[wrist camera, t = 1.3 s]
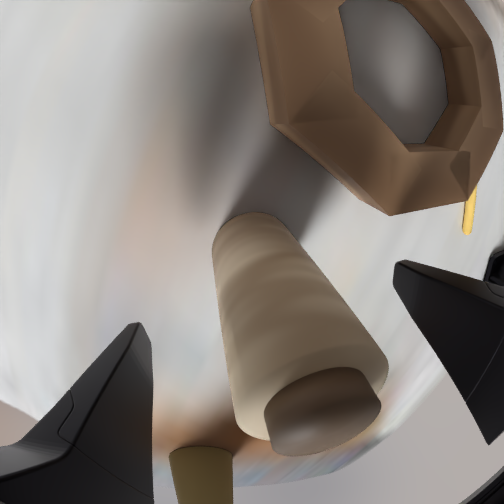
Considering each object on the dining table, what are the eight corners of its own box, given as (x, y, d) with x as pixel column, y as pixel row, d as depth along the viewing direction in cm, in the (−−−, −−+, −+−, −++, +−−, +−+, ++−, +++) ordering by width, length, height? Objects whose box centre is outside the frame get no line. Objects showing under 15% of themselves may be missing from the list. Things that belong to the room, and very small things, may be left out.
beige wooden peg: (287, 205, 12) (424, 346, 4) (294, 276, 14) (386, 433, 6) (204, 221, 12) (222, 412, 4) (221, 293, 13) (255, 476, 5)
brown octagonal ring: (447, -7, 7) (474, -14, 5) (472, 182, 13) (500, 194, 11) (237, -52, 6) (246, -81, 4) (281, 213, 12) (301, 234, 10)
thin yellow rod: (471, 115, 11) (479, 116, 11) (465, 231, 15) (472, 235, 14) (464, 114, 11) (473, 115, 11) (459, 233, 15) (467, 237, 14)
